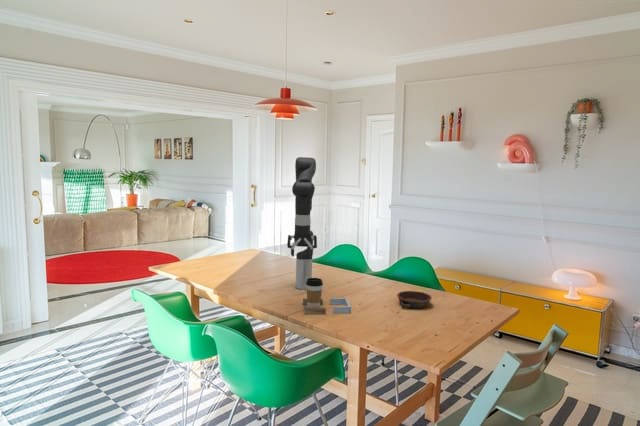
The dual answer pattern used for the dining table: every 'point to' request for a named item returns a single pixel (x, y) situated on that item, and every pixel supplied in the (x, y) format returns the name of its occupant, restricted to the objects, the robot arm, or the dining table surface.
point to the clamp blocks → (314, 308)
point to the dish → (414, 299)
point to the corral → (341, 309)
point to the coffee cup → (314, 292)
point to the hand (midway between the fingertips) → (301, 256)
